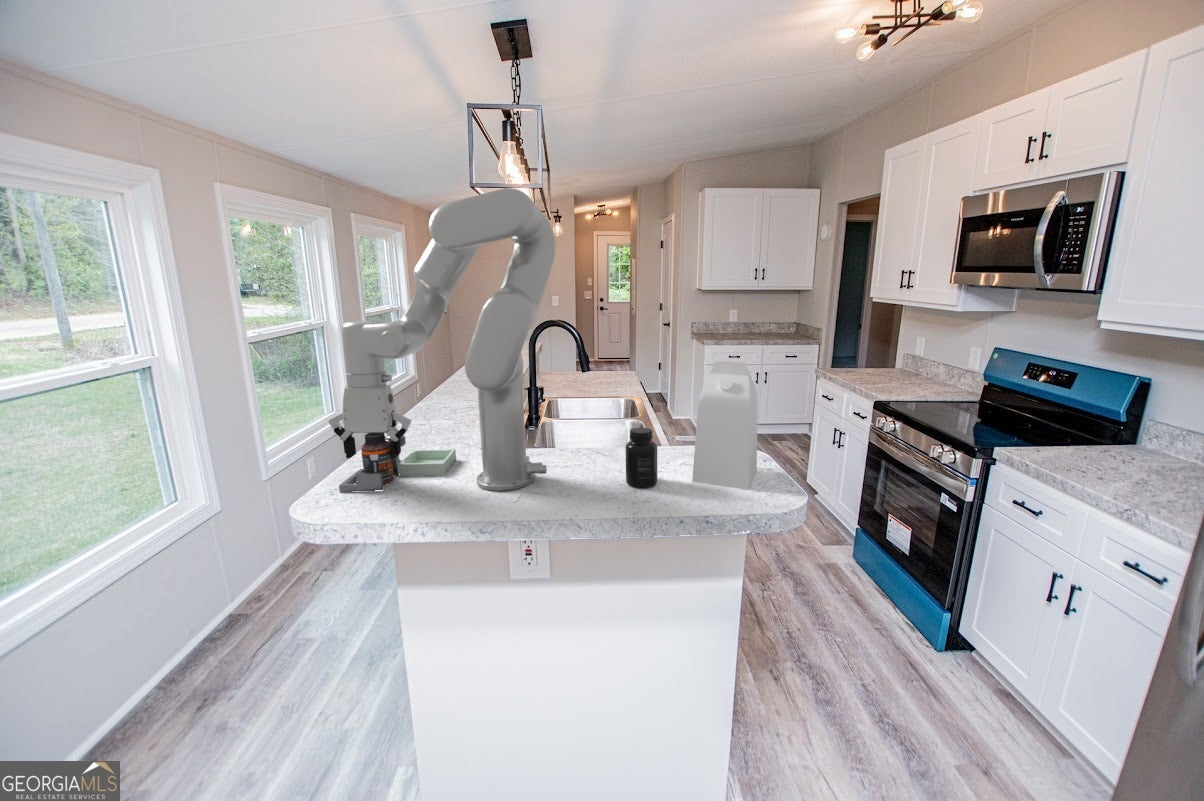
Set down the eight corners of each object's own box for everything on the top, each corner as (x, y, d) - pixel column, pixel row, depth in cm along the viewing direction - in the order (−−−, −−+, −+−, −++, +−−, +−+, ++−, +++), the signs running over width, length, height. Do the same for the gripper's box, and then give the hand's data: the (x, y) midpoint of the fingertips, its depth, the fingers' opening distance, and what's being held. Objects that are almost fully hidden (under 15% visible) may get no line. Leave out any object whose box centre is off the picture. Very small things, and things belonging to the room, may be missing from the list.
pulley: (411, 461, 126) (408, 432, 124) (402, 469, 120) (399, 439, 118) (387, 461, 126) (384, 432, 124) (377, 470, 120) (373, 440, 118)
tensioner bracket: (399, 474, 117) (398, 457, 116) (382, 491, 107) (379, 473, 106) (361, 474, 117) (359, 458, 116) (339, 492, 107) (337, 474, 106)
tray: (456, 460, 126) (455, 449, 125) (444, 475, 116) (443, 463, 115) (415, 460, 126) (414, 450, 125) (399, 475, 116) (398, 464, 115)
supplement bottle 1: (383, 488, 109) (377, 438, 106) (359, 487, 110) (352, 437, 107) (400, 478, 115) (394, 430, 112) (376, 477, 116) (370, 429, 113)
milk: (756, 471, 115) (763, 358, 109) (748, 490, 105) (755, 366, 99) (704, 464, 120) (708, 356, 114) (692, 481, 110) (695, 363, 104)
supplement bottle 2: (661, 479, 111) (662, 427, 109) (651, 491, 105) (651, 436, 103) (632, 475, 114) (632, 424, 111) (620, 486, 108) (620, 432, 105)
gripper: (413, 377, 111) (418, 451, 115) (334, 376, 111) (342, 450, 114) (400, 384, 103) (406, 463, 107) (315, 383, 103) (324, 462, 107)
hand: (373, 456), depth 111 cm, fingers open, 9 cm apart
